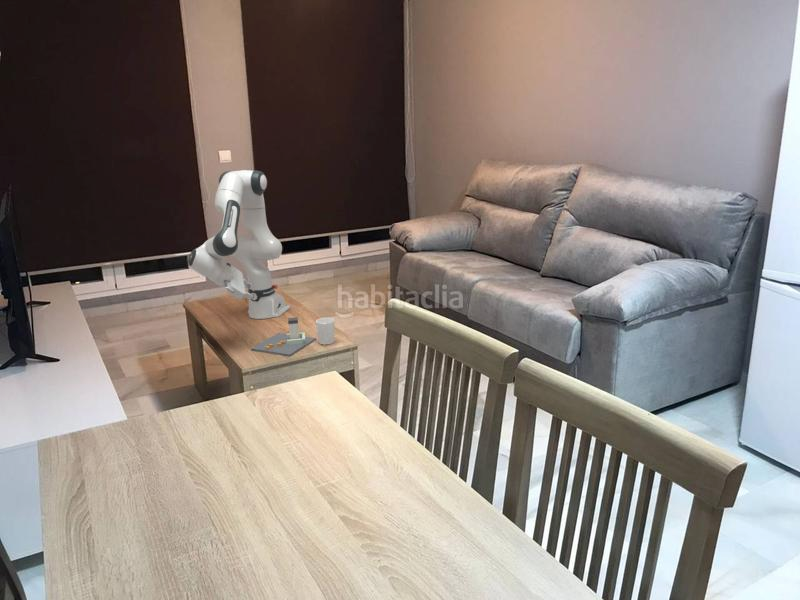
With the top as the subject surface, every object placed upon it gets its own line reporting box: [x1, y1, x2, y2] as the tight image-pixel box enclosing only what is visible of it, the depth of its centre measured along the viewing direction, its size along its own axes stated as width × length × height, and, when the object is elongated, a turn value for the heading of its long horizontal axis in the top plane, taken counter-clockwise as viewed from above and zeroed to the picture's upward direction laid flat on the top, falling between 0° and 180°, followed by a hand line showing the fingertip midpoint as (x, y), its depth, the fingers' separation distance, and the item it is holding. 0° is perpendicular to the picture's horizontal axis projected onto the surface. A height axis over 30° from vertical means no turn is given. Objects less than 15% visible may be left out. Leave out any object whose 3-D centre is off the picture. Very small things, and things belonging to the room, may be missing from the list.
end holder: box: [286, 331, 306, 345], centre depth 284 cm, size 8×9×2 cm
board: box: [250, 332, 317, 357], centre depth 282 cm, size 20×20×2 cm
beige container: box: [287, 316, 300, 340], centre depth 283 cm, size 4×4×10 cm
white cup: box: [315, 317, 336, 345], centre depth 282 cm, size 8×8×10 cm
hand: (251, 291), depth 283 cm, fingers open, 8 cm apart
